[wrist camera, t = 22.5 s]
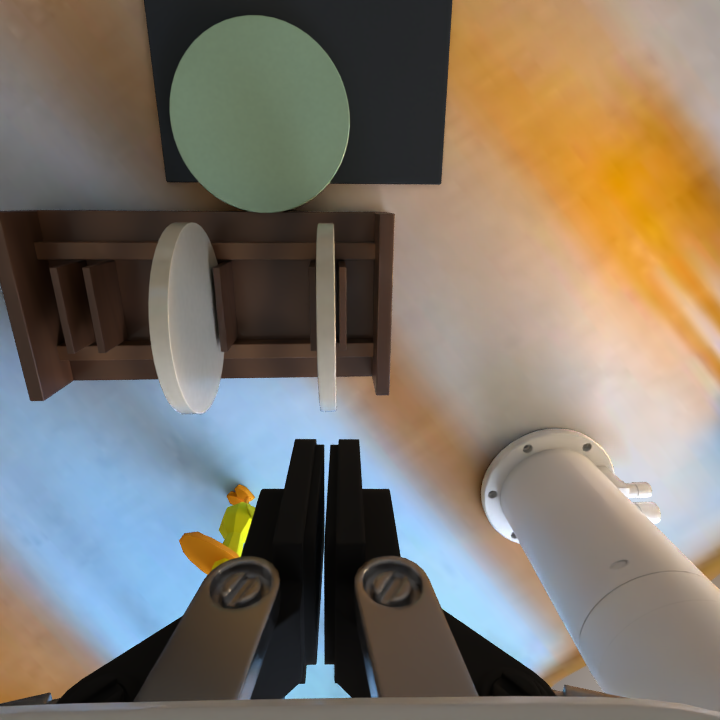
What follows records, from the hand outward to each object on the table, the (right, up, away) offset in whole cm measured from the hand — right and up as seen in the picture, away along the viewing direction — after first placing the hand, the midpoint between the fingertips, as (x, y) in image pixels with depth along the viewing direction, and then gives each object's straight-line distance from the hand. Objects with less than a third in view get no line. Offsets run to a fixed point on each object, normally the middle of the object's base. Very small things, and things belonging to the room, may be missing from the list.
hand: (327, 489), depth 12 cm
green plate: (-6, +20, +19) cm, 28 cm away
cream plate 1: (-10, +6, +17) cm, 21 cm away
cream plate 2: (-1, +6, +18) cm, 19 cm away
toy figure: (-10, -9, +30) cm, 33 cm away
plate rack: (-10, +8, +24) cm, 28 cm away
